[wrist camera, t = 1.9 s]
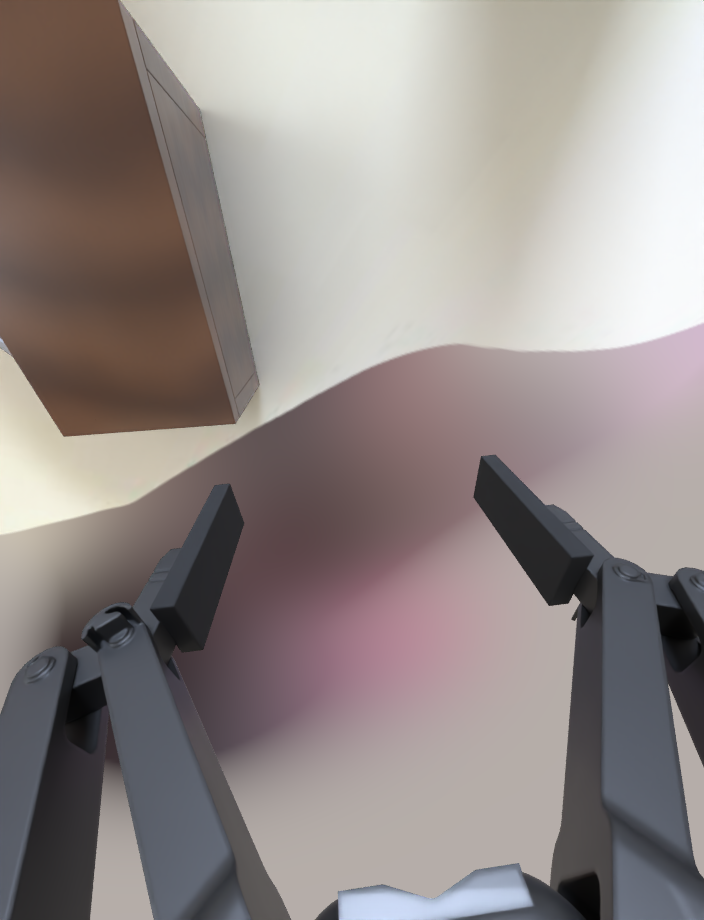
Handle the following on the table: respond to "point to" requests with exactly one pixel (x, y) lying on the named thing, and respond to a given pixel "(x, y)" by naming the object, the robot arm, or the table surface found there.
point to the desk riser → (112, 229)
